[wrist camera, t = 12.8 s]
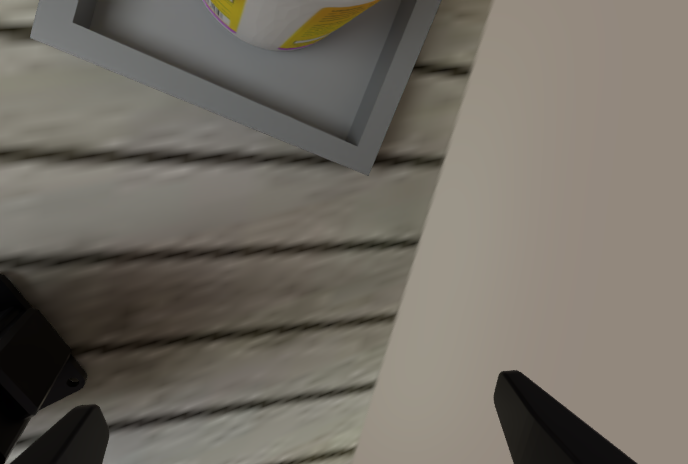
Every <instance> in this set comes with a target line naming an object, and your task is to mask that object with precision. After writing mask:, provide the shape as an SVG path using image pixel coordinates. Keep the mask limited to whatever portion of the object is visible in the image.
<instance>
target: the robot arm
mask: <svg viewBox="0 0 688 464" xmlns="http://www.w3.org/2000/svg"><path fill="white" fill-rule="evenodd" d="M70 353H71V349H70V348H69V346H68V345H67V344H66V343H65V342H64V340H63V339H62V338H61V337H60V336H59V334H58V333H57V332H56V331H55V329H54V328H53V327H52V326H51V325H50V323H49V322H48V321H47V320H46V319H45V317H44V316H43V315H42V314H41V313H40V311H39V310H37V309H34V308H32V307H31V306H30V304H29V303H28V302H27V301H26V299H25V298H24V297H23V296H22V295H21V293H20V292H19V291H18V290H17V289H16V287H15V286H14V285H13V284H12V283H11V281H10V280H9V279H8V278H7V277H5V276H4V275H1V274H0V464H4V463H5V462H6V460H7V458H8V457H9V455H10V453H11V451H12V450H13V448H14V446H15V445H16V443H17V441H18V439H19V438H20V436H21V434H22V433H23V431H24V429H25V427H26V426H27V424H28V422H29V421H30V419H31V417H32V416H34V415H36V414H37V412H38V411H39V410H40V409H42V408H44V407H46V406H48V405H50V404H52V403H54V402H56V401H58V400H60V399H62V398H64V397H66V396H68V395H70V394H72V393H74V392H76V391H78V390H80V389H81V388H83V386H84V385H85V383H86V381H87V374H86V372H85V371H84V369H83V368H82V367H81V366H80V365H79V363H78V362H77V361H76V360H75V359H74V357H73V356H72V355H71V354H70ZM70 378H76V379H78V380H79V381H78V382H72V381H71V380H70ZM494 404H495V408H496V411H497V414H498V417H499V420H500V423H501V426H502V429H503V432H504V435H505V438H506V441H507V444H508V447H509V450H510V453H511V456H512V459H513V462H514V464H637V463H636V462H635V461H634V460H632V459H631V458H630V457H628V456H627V455H626V454H625V453H623V452H622V451H621V450H620V449H618V448H617V447H615V446H614V445H613V444H612V443H610V442H609V441H608V440H607V439H605V438H604V437H603V436H602V435H600V434H599V433H598V432H597V431H595V430H594V429H593V428H591V427H590V426H589V425H587V424H586V423H585V422H584V421H582V420H581V419H580V418H579V417H577V416H576V415H575V414H574V413H572V412H571V411H570V410H568V409H567V408H566V407H565V406H563V405H562V404H561V403H559V402H558V401H557V400H555V399H554V398H553V397H552V396H550V395H549V394H548V393H547V392H545V391H544V390H543V389H542V388H540V387H539V386H538V385H536V384H535V383H534V382H533V381H531V380H530V379H529V378H528V377H526V376H525V375H524V374H522V373H521V372H519V371H517V370H516V371H515V370H513V371H503V372H501V373H500V374H499V376H498V380H497V384H496V388H495V392H494ZM108 440H109V427H108V425H107V423H106V420H105V418H104V416H103V414H102V411H101V409H100V407H99V406H97V405H95V404H92V405H80V406H77V407H75V408H73V409H72V410H71V411H70V412H68V413H67V414H66V415H65V416H64V417H63V418H62V419H60V420H59V421H58V422H57V423H56V424H55V425H54V426H52V427H51V428H50V429H49V430H48V431H47V432H46V433H44V434H43V435H42V436H41V437H40V438H39V439H38V440H36V441H35V442H34V443H33V444H32V445H31V446H30V447H28V448H27V449H26V450H25V451H24V452H23V453H22V454H20V455H19V456H18V457H17V458H16V459H15V460H14V461H12V462H11V463H10V464H102V462H103V458H104V455H105V451H106V447H107V444H108Z"/></svg>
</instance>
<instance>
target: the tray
mask: <svg viewBox="0 0 688 464" xmlns="http://www.w3.org/2000/svg"><path fill="white" fill-rule="evenodd" d="M440 3H441V0H381V1H379V2H377V3H376V4H374V5H373V6H371V7H370V8H368V9H367V10H365V11H364V12H362V13H361V14H359V15H358V16H356V17H355V18H353V19H352V20H350V21H349V22H347V23H346V24H344V25H343V26H341V27H340V28H338V29H337V30H335V31H334V32H332V33H331V34H329V35H328V36H326V37H325V38H323V39H321V40H319V41H318V42H316V43H314V44H312V45H309V46H307V47H304V48H301V49H297V50H292V51H273V50H267V49H263V48H259V47H256V46H253V45H251V44H249V43H246V42H244V41H242V40H241V39H239V38H238V37H236V36H235V35H233V34H232V33H231V32H229V31H228V30H227V29H226V28H225V27H223V26H222V25H221V24H220V23H219V22H218V21H217V20H216V18H215V17H214V16H213V15H212V14H211V12H210V11H209V10H208V8H207V7H206V6H205V4H204V3H203V1H202V0H39V3H38V7H37V11H36V15H35V19H34V23H33V27H32V31H31V35H30V38H32V39H34V40H37V41H39V42H42V43H44V44H46V45H49V46H51V47H54V48H56V49H59V50H61V51H64V52H66V53H68V54H71V55H73V56H76V57H78V58H81V59H83V60H86V61H88V62H90V63H93V64H95V65H98V66H100V67H103V68H105V69H108V70H110V71H113V72H115V73H117V74H120V75H122V76H125V77H127V78H130V79H132V80H135V81H137V82H139V83H142V84H144V85H147V86H149V87H152V88H154V89H157V90H159V91H161V92H164V93H166V94H169V95H171V96H174V97H176V98H179V99H181V100H184V101H186V102H188V103H191V104H193V105H196V106H198V107H201V108H203V109H206V110H208V111H210V112H213V113H215V114H218V115H220V116H223V117H225V118H228V119H230V120H232V121H235V122H237V123H240V124H242V125H245V126H247V127H250V128H252V129H255V130H257V131H259V132H262V133H264V134H267V135H269V136H272V137H274V138H277V139H279V140H281V141H284V142H286V143H289V144H291V145H294V146H296V147H299V148H301V149H303V150H306V151H308V152H311V153H313V154H316V155H318V156H321V157H323V158H326V159H328V160H330V161H333V162H335V163H338V164H340V165H343V166H345V167H348V168H350V169H352V170H355V171H357V172H360V173H362V174H365V175H367V176H369V173H370V171H371V168H372V166H373V164H374V161H375V159H376V156H377V154H378V152H379V149H380V147H381V144H382V142H383V140H384V137H385V135H386V132H387V130H388V128H389V125H390V123H391V120H392V118H393V116H394V113H395V111H396V108H397V106H398V103H399V101H400V99H401V96H402V94H403V91H404V89H405V87H406V84H407V82H408V79H409V77H410V75H411V72H412V70H413V67H414V65H415V63H416V60H417V58H418V55H419V53H420V51H421V48H422V46H423V43H424V41H425V39H426V36H427V34H428V31H429V29H430V27H431V24H432V22H433V19H434V17H435V15H436V12H437V10H438V7H439V5H440Z"/></svg>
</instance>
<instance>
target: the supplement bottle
mask: <svg viewBox="0 0 688 464" xmlns="http://www.w3.org/2000/svg"><path fill="white" fill-rule="evenodd" d="M202 1H203V3H204V4H205V6H206V7H207V8H208V10H209V11H210V12H211V14H212V15H213V16H214V17H215V18H216V20H217V21H218V22H219V23H220V24H221V25H222V26H223V27H225V28H226V29H227V30H228V31H229V32H231V33H232V34H233V35H235V36H236V37H238V38H239V39H241V40H242V41H244V42H246V43H249V44H251V45H253V46H256V47H259V48H263V49H267V50H273V51H292V50H297V49H301V48H304V47H307V46H309V45H312V44H314V43H316V42H318V41H319V40H321V39H323V38H325V37H326V36H328V35H329V34H331V33H332V32H334V31H335V30H337V29H338V28H340V27H341V26H343V25H344V24H346V23H347V22H349V21H350V20H352V19H353V18H355V17H356V16H358V15H359V14H361V13H362V12H364V11H365V10H367V9H368V8H370V7H371V6H373V5H374V4H376V3H377V2H379V1H381V0H202Z"/></svg>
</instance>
